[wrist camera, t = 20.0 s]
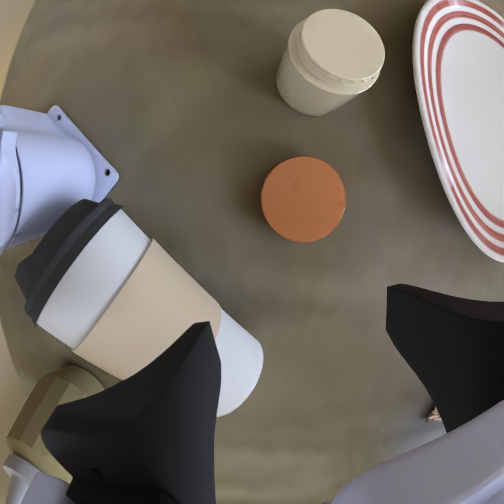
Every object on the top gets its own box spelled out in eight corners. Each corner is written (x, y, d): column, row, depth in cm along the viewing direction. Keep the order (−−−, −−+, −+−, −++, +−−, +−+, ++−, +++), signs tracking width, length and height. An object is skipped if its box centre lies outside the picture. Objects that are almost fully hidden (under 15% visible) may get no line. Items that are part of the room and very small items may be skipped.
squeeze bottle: (81, 414, 25) (25, 526, 8) (41, 360, 23) (-43, 469, 6) (131, 409, 25) (79, 552, 7) (88, 349, 23) (-9, 492, 5)
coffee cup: (200, 345, 25) (66, 237, 19) (278, 305, 21) (116, 156, 15) (176, 436, 18) (-1, 318, 12) (271, 421, 13) (11, 239, 8)
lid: (343, 229, 20) (351, 234, 19) (269, 245, 21) (271, 251, 19) (330, 151, 19) (337, 150, 17) (252, 166, 19) (252, 165, 17)
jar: (260, 79, 17) (269, 32, 10) (310, 41, 17) (338, -10, 9) (312, 130, 19) (349, 107, 11) (359, 89, 18) (409, 57, 11)
